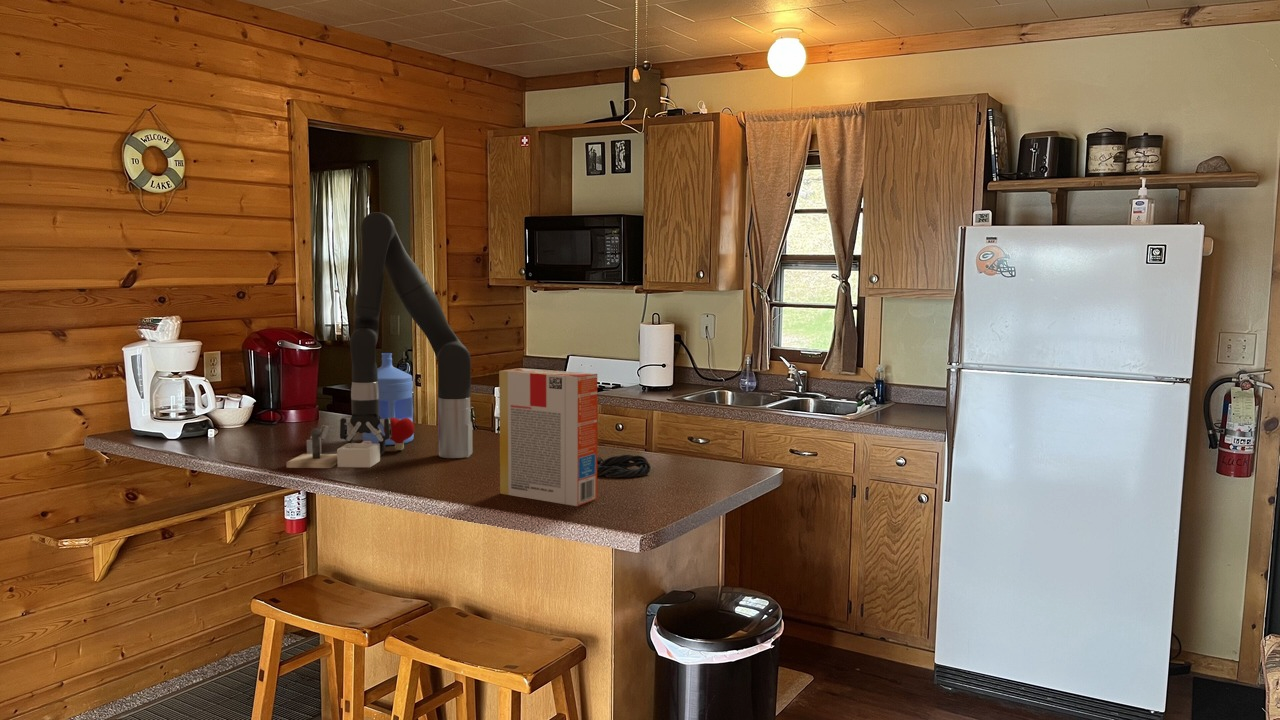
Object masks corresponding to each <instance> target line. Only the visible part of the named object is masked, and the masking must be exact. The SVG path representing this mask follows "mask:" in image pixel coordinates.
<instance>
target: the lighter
mask: <svg viewBox="0 0 1280 720" xmlns="http://www.w3.org/2000/svg"><path fill="white" fill-rule="evenodd" d="M329 428H330V426H329V425H325V424H322V425H321V427H320V429H319V430H320V431H321V435H320V454H323V453H322V441H325V440H326V437H327V435H328V432H329ZM306 454H312V436H311V435H310V438H309V439H307V440H306Z"/></svg>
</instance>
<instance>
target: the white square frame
mask: <svg viewBox="0 0 1280 720" xmlns="http://www.w3.org/2000/svg"><path fill="white" fill-rule="evenodd" d="M336 450H337V451H336V454H337V462H338V464H337V468H371V467H373V466H375V465H377V463H379V462H380V461H381V454H380V443H371V441H362V442H358V443H357V442H354V443H347V442H346V443H345V444H344V445H342V446H341V447H339V448H337V449H336Z"/></svg>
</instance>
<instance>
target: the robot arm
mask: <svg viewBox="0 0 1280 720" xmlns="http://www.w3.org/2000/svg"><path fill="white" fill-rule="evenodd" d="M360 234H361V245H362V247H361V249H362V253H361V254H362V255H361V266H360V271H359V272H360V273H359V279H358V284H357V291H356V297H355V306H354V314H355V320H354V327H353V332H352V333H351V336H350V339H349V347H350V357H351V365H352V366H351V388H350V390H351V391H350V398H351V402H350V403H351V417H347V416H344V417H342V418H340V420H339V421H340V422H339V423H340V424H339V438H340V439H341V440H345V441H346V444H347V443H355V440H354V438H355V437H356V435H357V434H358V433H359V434H363V433H373V434H374V435H375V436H376V437H377V438H378V440H379V442H378V443H380V455H383V454H384V453H385V451H386V445H385V440H387V439H389V438H391V437H392V432H391V419H390V418H389V417H388V418H383V419H381V418H380V416H379V388H378V371H377V369H378V365H377V360H376V359H377V358H376V357H377V356H376V354H377V351H376V350H377V349H376V348H377V343H378V341H379V340H378V339H379V330H380V329H379V328H380V327H379V326H380V315H381V310H382V302H383V295H384V277H385V275H384V274H385V269H386V272H387V275H388V277H389V279H390V282H391V285H392V287H393V289H394V291H395V292H396V294H397V297H398V298H399V299H400V301H401V303H402V305H403V306H404V309H405V310H406V311H407V313H408V314H409V316H410V317H411V318H412V320H413V321H414V322H415V323H416V324H417V326H418V327H419V328H420V329H421V331H422V332H423V334H424V335H425V337H426V338H427V341H428V342H429V345H430V346H431V348H432V350H433V352H434V355H435V357H436V361H437V382H438V383H437V406H438V407H437V410H438V411H437V412H438V413H437V415H438V416H437V417H438V420H437V422H438V423H437V424H438V426H437V427H438V429H437V430H438V457H440V458H443V459H444V458H445V459H462V458H470V456H471V455H473V422H472V421H471V388H472V387H471V385H472V384H471V383H472V377H471V376H472V360H471V354H470V351H469V350H468V348H467V347H466V346H465V345H464V344H463V342H461V340H460V339H459V338H458V337H457V335H456V334H455V332H454V330H453V329H452V328H451V326H450V325H449V323H448V321H447V319H446V316H445V314H444V311H443V308H442V306H441V304H440V302H439V300H438V297H437V295H436V293H435V292H434V290H433V288H432V286H431V285H430V283H429V282H428V279H426V277H425V275H424V274H423V273H422V271H421V269H420V267H418V266H417V264H416V263H415V262H414V260H413V259H412V257H410V255H409V254H408V252H407V251H406V248H405V247H404V245H403V242H402V240H401V239H400V236H399V234H398V231H397V230H396V226H395V223H394V221H393V220H392V218H391V217H390V216H389V215H387V214H386V213H384V212H380V211H375V212H370V213H369V214H367V215H365V216H364V218H363V219H362V221H361V223H360ZM380 422H381V423H382V425H383V426H384V427H385V436H384V435H383V433H382V431H381V430H380V428H379V427H378V425H379V424H380ZM350 424H351V425H352V427H353V428H352V430H350V432H349V434H348V426H349V425H350ZM377 429H378V430H377Z"/></svg>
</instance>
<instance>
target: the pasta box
mask: <svg viewBox="0 0 1280 720" xmlns="http://www.w3.org/2000/svg"><path fill="white" fill-rule="evenodd" d="M498 373H499V375H498V377H499V378H498V379H499V383H498V384H499V387H498V389H499V394H498V395H499V399H498V400H499V494H501V495H507V496H513V497H518V498H519V497H520V498H526V499H531V500H538V501H544V502H549V503H550V502H551V503H556V504H561V505H567V506H574V507H579V506H582V505H585V504H587V503H591V502H593V501H595V500H598V476H597V457H598V373H591V372H578V371H567V370H566V371H564V370H552V369H551V370H550V369H539V368H538V369H537V368H523V367H520V368H519V367H518V368H510V369H504V370H499V371H498Z"/></svg>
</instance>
